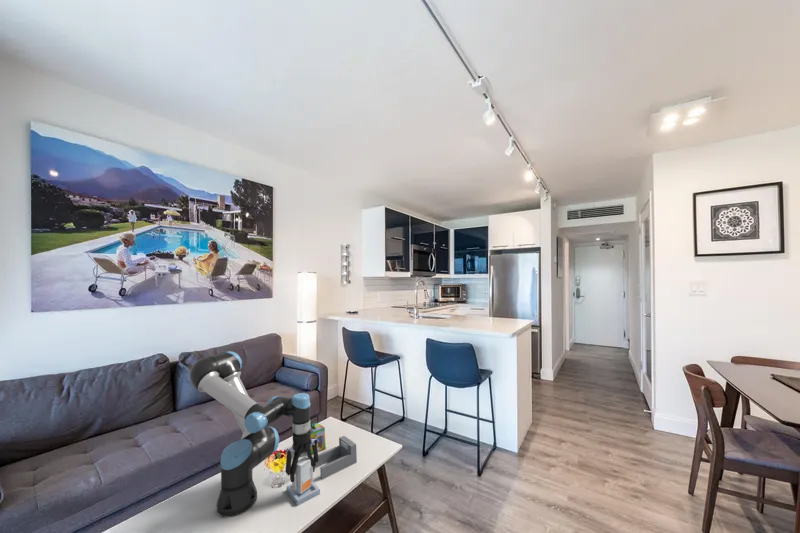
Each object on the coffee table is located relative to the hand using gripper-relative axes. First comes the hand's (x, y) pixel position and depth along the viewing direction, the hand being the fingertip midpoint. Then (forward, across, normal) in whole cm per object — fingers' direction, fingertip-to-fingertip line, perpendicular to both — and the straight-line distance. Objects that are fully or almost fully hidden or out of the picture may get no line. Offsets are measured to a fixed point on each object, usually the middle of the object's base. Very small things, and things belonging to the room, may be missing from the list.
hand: (302, 484), depth 136 cm
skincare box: (+2, 0, 0) cm, 2 cm away
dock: (+4, +20, +8) cm, 21 cm away
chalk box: (+4, +19, +29) cm, 35 cm away
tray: (+4, 0, 0) cm, 4 cm away
